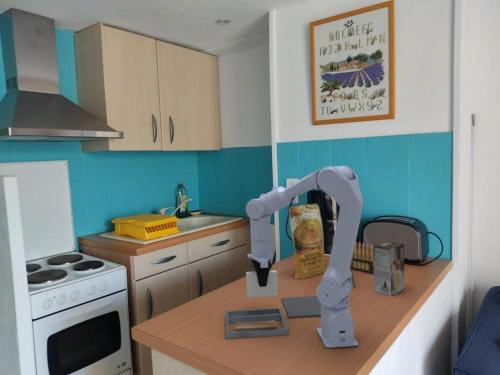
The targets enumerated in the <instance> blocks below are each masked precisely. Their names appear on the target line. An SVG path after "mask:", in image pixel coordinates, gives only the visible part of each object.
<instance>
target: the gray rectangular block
mask: <svg viewBox="0 0 500 375" xmlns="http://www.w3.org/2000/svg"><path fill="white" fill-rule="evenodd" d="M245 277H246V297H247V299H249V298H263V297H276V296H277V297H278V296H279V291H278V290H279V286H278V271H277V270H272V269H271V270H270V272H269V275H268V281H267V286H266V287H259V284H258V279H257V274H256V271H246V273H245Z"/></svg>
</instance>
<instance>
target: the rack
mask: <svg viewBox="0 0 500 375" xmlns="http://www.w3.org/2000/svg"><path fill="white" fill-rule="evenodd" d="M272 320H275V321H281V325H282V327H281V328H280V327H279V328H278V329H263V330H249V331H230V326H229V325H230V324H235V323H236V322H254V321H272ZM286 335H287V336H289V335H290V328H289V326H288V323H287V321H286V319H285V316H284V313H283V310H282V308H281V307H267V308H253V309H251V308H250V309H238V310H237V309H235V310H226V311H225V339H226V340H231V339H247V338H259V337H275V336H286Z"/></svg>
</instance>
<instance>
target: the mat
mask: <svg viewBox="0 0 500 375" xmlns="http://www.w3.org/2000/svg"><path fill="white" fill-rule="evenodd" d="M280 300H281V303H282V306H283V308H284V311H285V313H286V315H287V317H288V319H301V318H303V319H304V318H318V317H319V318H321V303H320V302H319V300H318V298H317V296H316V295H313V296H312V295H309V296H294V297H293V296H292V297H291V296H290V297H281V298H280Z"/></svg>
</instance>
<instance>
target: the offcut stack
mask: <svg viewBox="0 0 500 375" xmlns="http://www.w3.org/2000/svg"><path fill="white" fill-rule="evenodd" d="M278 324H279V323H278ZM278 324H277V322H276V320H271V321H254V322H236V323H234V329H233V330H234V331H249V330H263V329H278V328H280V327H279V325H278ZM234 331H233V332H234Z"/></svg>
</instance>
